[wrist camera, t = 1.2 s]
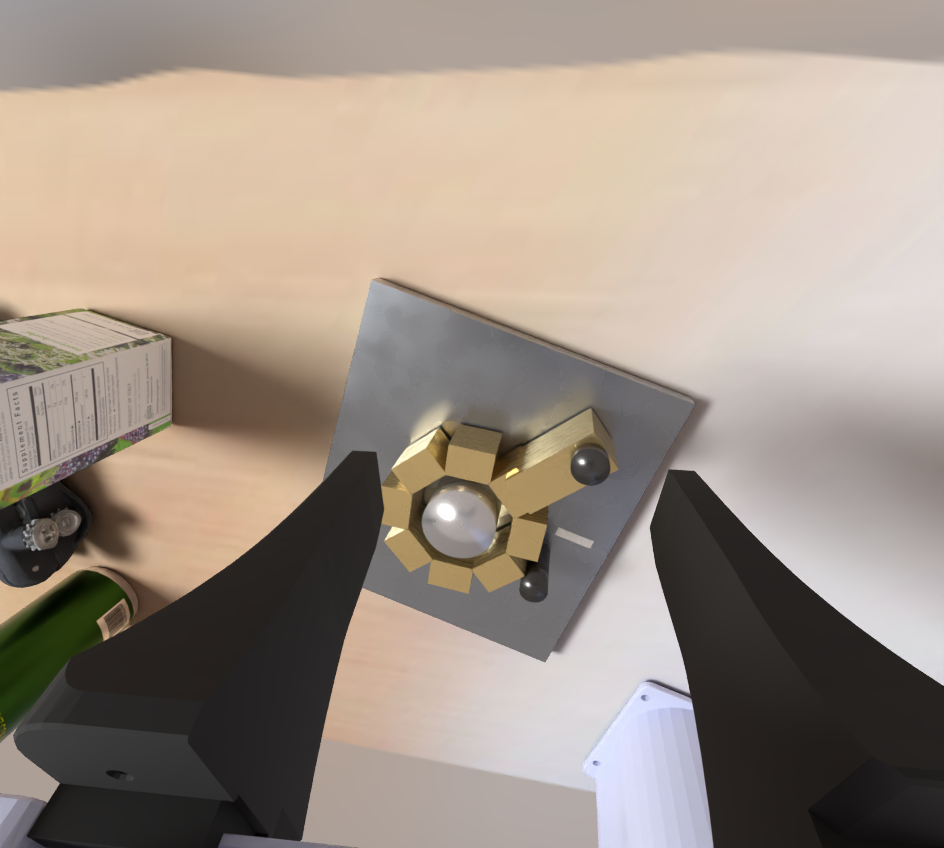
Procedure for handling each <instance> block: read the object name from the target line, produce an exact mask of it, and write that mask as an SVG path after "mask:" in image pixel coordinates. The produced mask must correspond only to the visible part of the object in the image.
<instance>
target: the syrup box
mask: <svg viewBox="0 0 944 848" xmlns="http://www.w3.org/2000/svg"><path fill="white" fill-rule="evenodd" d="M171 423H172V355H171V338H170V337H169V336H166V335H164V334H161V333H157V332H155V331H151V330H148V329H145V328H141V327H138V326H135V325H132V324H129V323H126V322H122V321H119V320H116V319H113V318H110V317H107V316H104V315H101V314H98V313H95V312H92V311H89V310H85V309H73V310H66V311H60V312H54V313H48V314H41V315H35V316H28V317H23V318H16V319H11V320H5V321H0V510H1V509H3V508H5V507H7V506H9V505H11V504H13V503H15V502H17V501H19V500H21V499H23V498H25V497H27V496H29V495H31V494H33V493H35V492H37V491H39V490H42V489H44V488H46V487H48V486H50V485H52V484H54V483H56V482H58V481H60V480H62V479H64V478H66V477H68V476H70V475H72V474H74V473H76V472H78V471H80V470H82V469H84V468H86V467H88V466H90V465H92V464H94V463H96V462H98V461H100V460H102V459H104V458H106V457H108V456H110V455H112V454H115V453H117V452H119V451H121V450H123V449H125V448H127V447H129V446H131V445H133V444H135V443H137V442H139V441H141V440H143V439H145V438H147V437H149V436H151V435H153V434H155V433H158V432H160V431H162V430H164V429H166V428H168V427H170V426H171Z"/></svg>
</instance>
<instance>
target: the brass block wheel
mask: <svg viewBox="0 0 944 848" xmlns="http://www.w3.org/2000/svg"><path fill="white" fill-rule="evenodd" d="M502 434H503V433H499V432H494V431H490V430H485V429H481V428H476V427H471V426H467V425H462V424H460V425H459V426H458V428H457V430H456V432H455V434H454V436H453V437H452V439H451V441H449V440H448V438H447V437H446V436H445V434H444V433H443V432H442V430H441V429H440V428H437V429H436V430H434V431H432V432H431V433H429V434H428V435H426V436H424V437H423V438H421V439H420V440H418V441H417V442H415V443H413V444H412V445H410V446H409V447H407V448H406V449H405V451H404V452H403V454H402V455H401V456H400V458H399V459H398V461H397V462H396V463H395V465H394V466H393V467H392V469H391V470H392V471H391V472H390V474H389V475H388V477H387V478H386V479H385V481H384V482H383V484H382V485H381V489H382V496H383V503H384V513H383V518H382V523H381V524H384V525H388V526H392V528H391V530H390V531H389V533H388V535H387V537H386V538H385V540H384V542H385V543H386V544H387V546H388V547H389V548H390V549H391V550H392V552H393V553H394V554H395V555H396V556H397V558H398V559H399V560H400V561H401V562H402V564H403V565H404V566H405V567H406V568H407V570H408V571H409V572H411V571H413V570H415V569H417V568H419V567H421V566H423V565H425V564H427V563H429V562H431V565H430V572H429V578H428V584H432V585H436V586H440V587H444V588H448V589H452V590H455V591H459V592H463V593H467V594H469V590H470V587H471V583H472V579H473V576H474V574H475V575H476V577H477V578H478V579H479V580H480V582H481V583H482V584H483V585H484V587H485V588H486V589H487V590H488V592H491V591H494V590H496V589H498V588H500V587H502V586H505V585H507V584H509V583H511V582H513V581H516V580H518V579H520V578H522V577H524V576H525V572H526V564H527V560H531V561H535V562H538V558H539V554H540V551H541V547H542V543H543V539H544V535H545V531H546V527H547V520H548V508H549V505H550V504H552V503H554V502H555V501H557V500H559V499H561V498H563V497H565V496H567V495H569V494H571V493H573V492H575V491H577V490H579V489H581V488H583V487H585V486H594V485H598V484H600V483H602V482H604V481H605V480H606V479H607V477H608V476H609V474H611V473H613V472H615V471H617V470H619V468H618V463H617V458H616V453H615V448H614V442H613V440H612V438H611V437H610V435H609V434H608V432H607V431H606V429H605V428H604V426H603V425H602V423H601V422H600V420H599V419H598V417H597V416H596V414H595V413H594V411H593V410H592V408H590V409H588V410H586V411H585V412H583V413H581V414H579V415H578V416H576V417H574V418H572V419H570V420H569V421H567V422H565V423H563V424H562V425H560V426H558V427H556V428H555V429H553V430H551V431H549V432H548V433H546V434H544V435H542V436H541V437H539V438H537V439H535V440H533V441H532V442H530V443H528V444H526V445H525V446H523V447H522V446H519V447H517V448H516V449H514V450H512V451H510V452H509V453H507V454H505V455H503V456H502V457H500V458H498V454H499V449H500V444H501V439H502ZM444 475H448V476H452V477H457V478H461V479H465V480H470V481H474V482H478V483H483V484H487V485H489V486H490V488H491V489H492V490H493V492H494V493H495V494H496V496H497V497H498V498H499V500H500V501H501V502H502V504H503V505H504V506H505V508H506V509H507V510H508V512H509V513H510V514H511V516H512V517H513V519H512V523H511V525H510V526H508V527H506V528H504V529H502V530H500V531H498V532H496V533H495V536H494V539H493V542H492V544H491V545H490V547H489V548H488V549H487V550H486V551H485V552H483V553H482V554H480V555H478V556H475V557H471V558H455V557H451V556H448V555H446V554H443V553H442V552H440V551H438V550H437V549H436V548H434V547H433V546H432V545H431V544H430V542H429V541H428V540H427V538H426V536H425V534H424V532H423V528H422V517H423V513H424V511H425V509H426V508H425V507H424V506H423V504H422V497H423V490H424V487H426V486H427V485H429V484H431V483H432V482H434V481H436V480H438V479H439V478H441V477H443V476H444Z"/></svg>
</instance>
